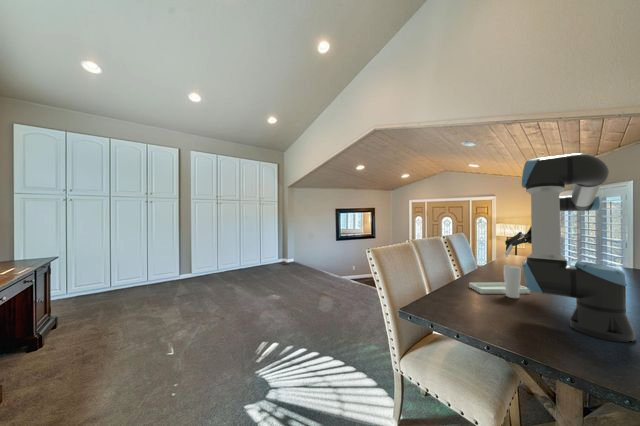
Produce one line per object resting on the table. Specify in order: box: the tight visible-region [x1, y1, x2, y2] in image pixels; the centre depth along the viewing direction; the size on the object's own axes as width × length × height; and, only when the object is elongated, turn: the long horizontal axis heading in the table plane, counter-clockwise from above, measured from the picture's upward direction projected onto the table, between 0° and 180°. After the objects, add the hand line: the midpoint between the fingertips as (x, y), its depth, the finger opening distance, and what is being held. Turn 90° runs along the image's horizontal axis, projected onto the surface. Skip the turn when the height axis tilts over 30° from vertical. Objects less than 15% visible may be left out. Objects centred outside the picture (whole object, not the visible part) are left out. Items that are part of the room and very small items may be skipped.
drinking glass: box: [503, 264, 522, 299], centre depth 124 cm, size 7×7×15 cm
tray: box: [468, 281, 531, 295], centre depth 134 cm, size 24×12×2 cm, turn 88°
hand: (522, 259), depth 124 cm, fingers open, 13 cm apart
